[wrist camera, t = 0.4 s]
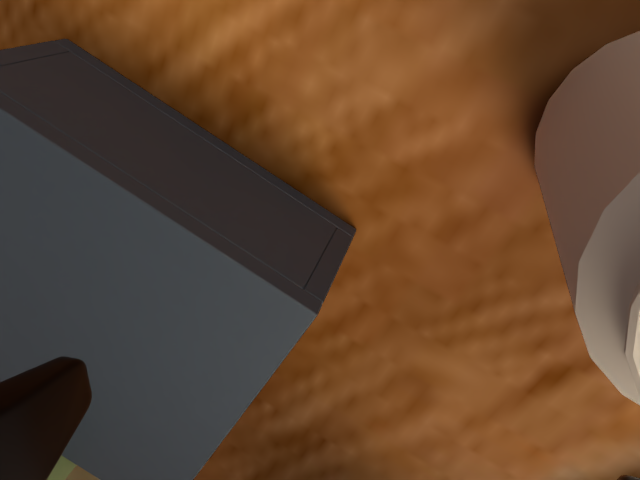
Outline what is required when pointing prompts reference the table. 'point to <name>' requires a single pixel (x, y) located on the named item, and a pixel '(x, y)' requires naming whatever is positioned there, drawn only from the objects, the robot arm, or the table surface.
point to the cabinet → (146, 262)
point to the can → (598, 202)
